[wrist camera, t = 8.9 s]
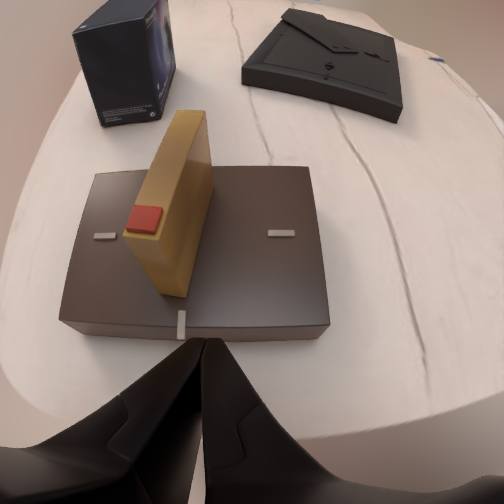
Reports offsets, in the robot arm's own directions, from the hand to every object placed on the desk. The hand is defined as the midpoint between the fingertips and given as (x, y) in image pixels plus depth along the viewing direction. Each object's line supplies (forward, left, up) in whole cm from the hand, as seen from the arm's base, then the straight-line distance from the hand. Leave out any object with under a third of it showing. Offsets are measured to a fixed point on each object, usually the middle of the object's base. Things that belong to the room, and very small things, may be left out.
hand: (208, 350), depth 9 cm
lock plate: (+7, +1, -8) cm, 11 cm away
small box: (+27, +5, -9) cm, 29 cm away
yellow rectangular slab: (+7, +1, -5) cm, 9 cm away
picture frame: (+31, -17, -9) cm, 37 cm away
